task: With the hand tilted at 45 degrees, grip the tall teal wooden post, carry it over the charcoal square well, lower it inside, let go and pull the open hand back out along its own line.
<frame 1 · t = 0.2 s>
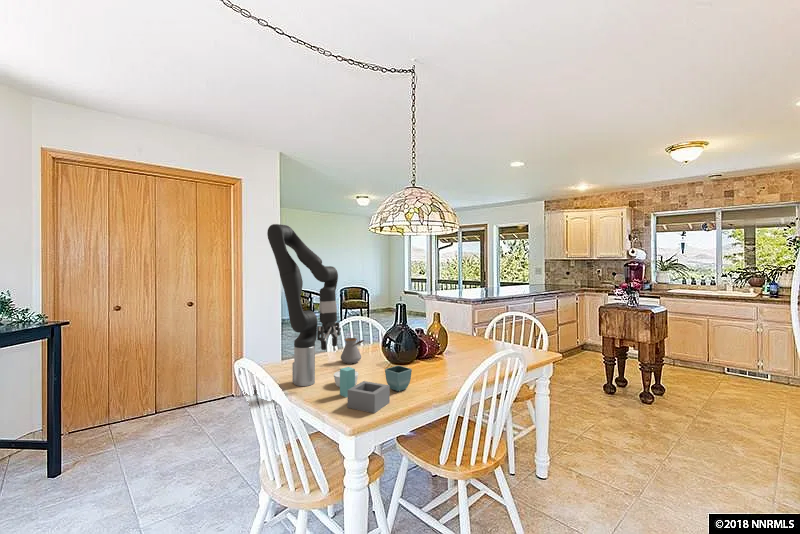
hand: (329, 347, 173), 18 cm above the table, tool pointing down, fingers open, 8 cm apart
coffee pot: (354, 364, 213), on the table
ramekin: (346, 385, 178), on the table
well: (368, 405, 153), on the table
flower pot: (398, 389, 172), on the table
teal post: (347, 394, 165), on the table
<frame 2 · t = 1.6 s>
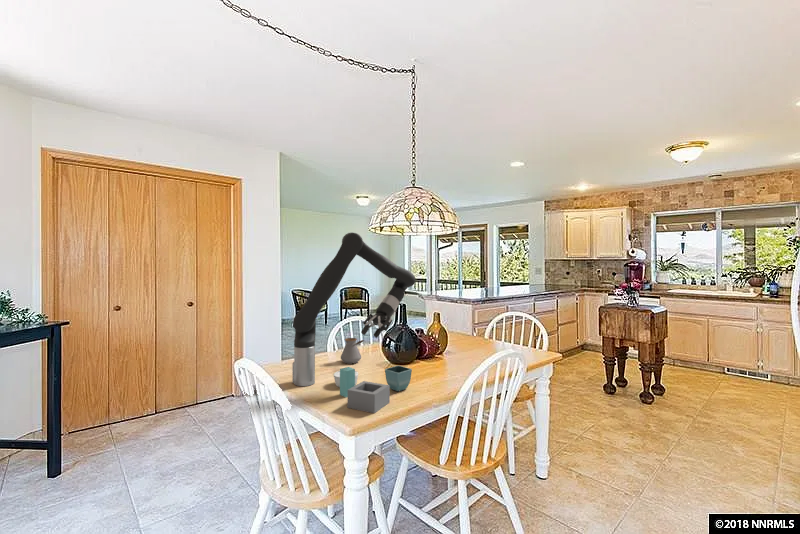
hand: (368, 335, 172), 24 cm above the table, tool tilted 45°, fingers open, 8 cm apart
nothing on the table moved.
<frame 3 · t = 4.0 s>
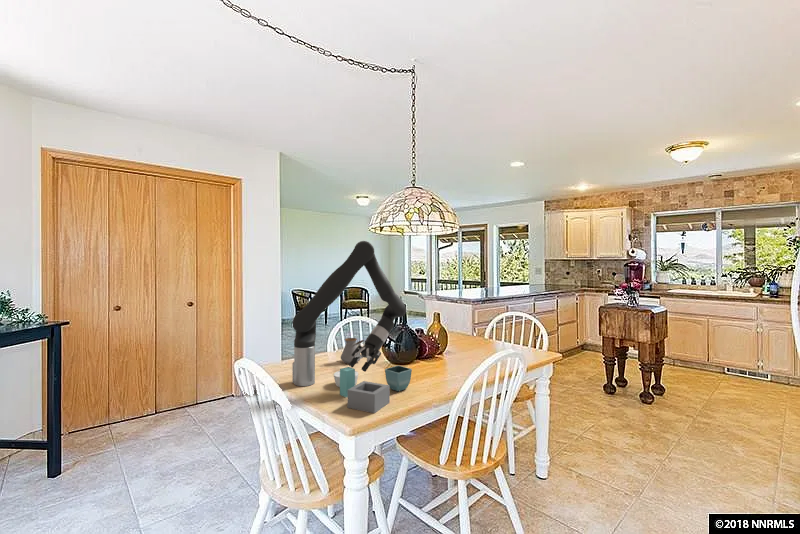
hand: (356, 368, 168), 10 cm above the table, tool tilted 45°, fingers open, 8 cm apart
nothing on the table moved.
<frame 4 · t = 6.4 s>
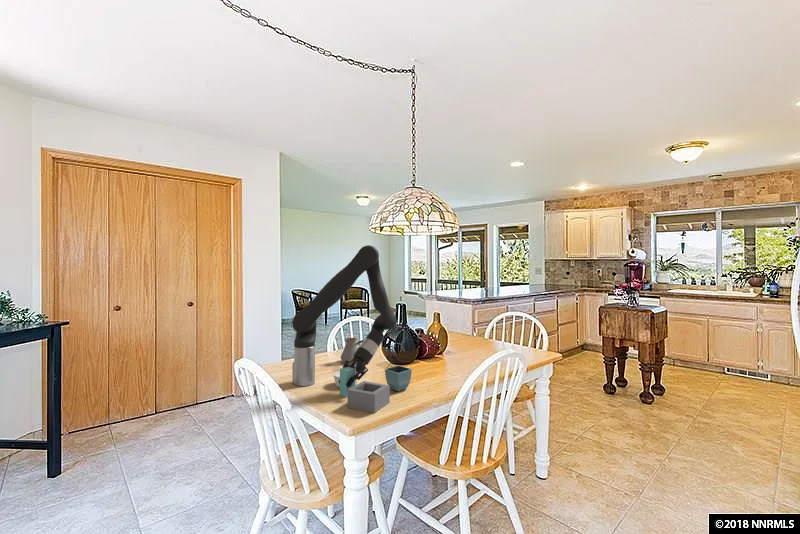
hand: (343, 384, 163), 5 cm above the table, tool tilted 45°, fingers closed on teal post, 4 cm apart
teal post: (347, 394, 165), on the table, touching gripper
everything else where it was.
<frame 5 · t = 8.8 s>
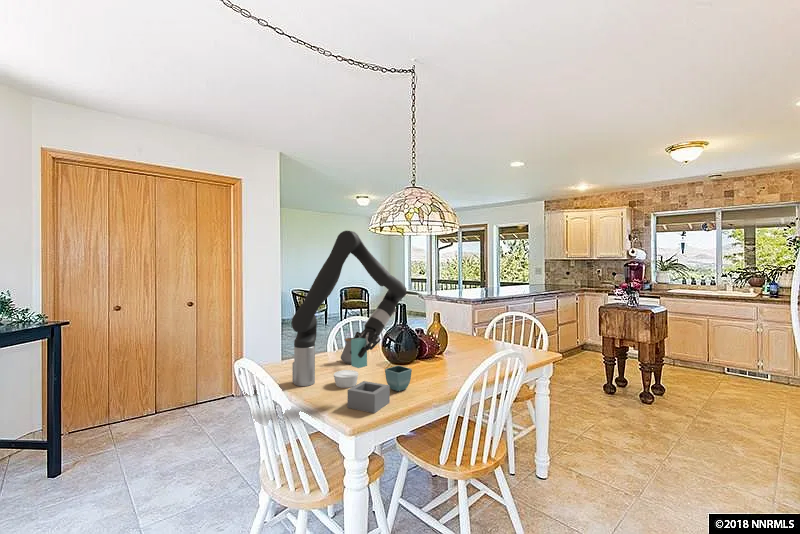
hand: (355, 355, 158), 18 cm above the table, tool tilted 45°, fingers closed on teal post, 4 cm apart
teal post: (359, 366, 159), point 14 cm above the table, touching gripper
everything else where it was.
when the fingers open (8 cm above the table, at t = 11.6 s): teal post drops 2 cm, resting on well.
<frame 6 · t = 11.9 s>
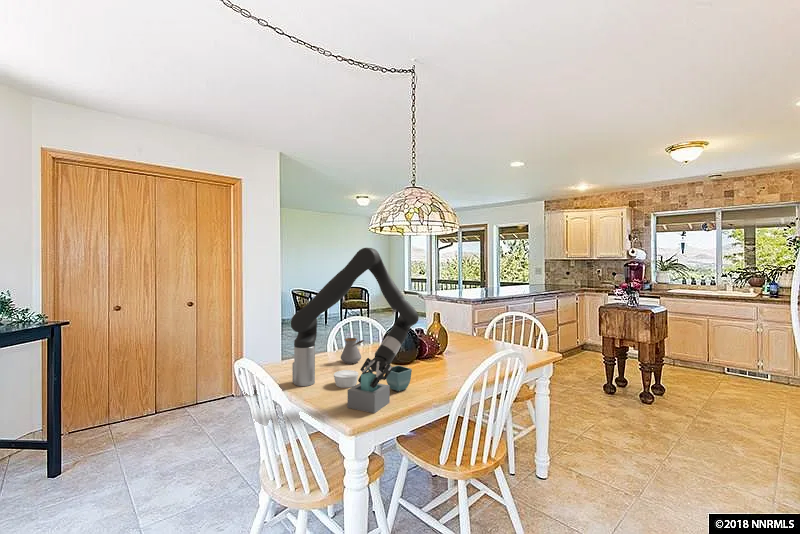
hand: (365, 384, 152), 8 cm above the table, tool tilted 45°, fingers open, 7 cm apart
teal post: (369, 402, 153), point 1 cm above the table, touching well
everything else where it was.
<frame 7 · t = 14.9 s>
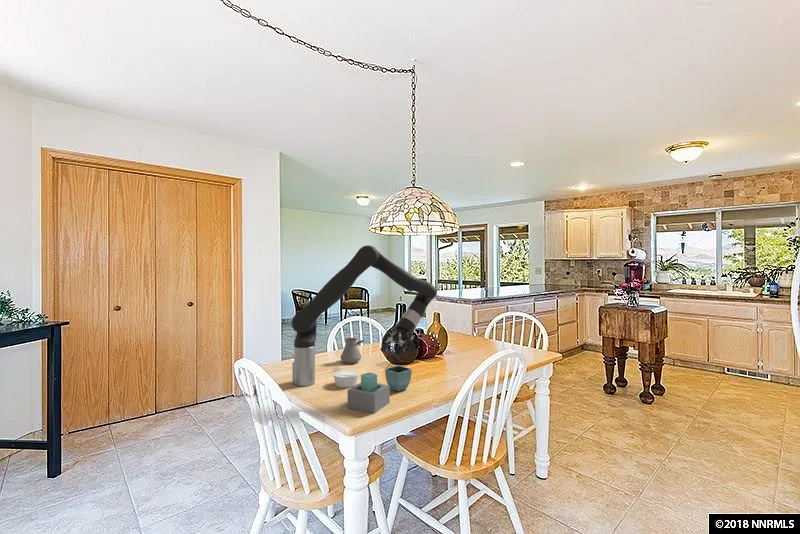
hand: (388, 353, 160), 19 cm above the table, tool tilted 45°, fingers open, 8 cm apart
nothing on the table moved.
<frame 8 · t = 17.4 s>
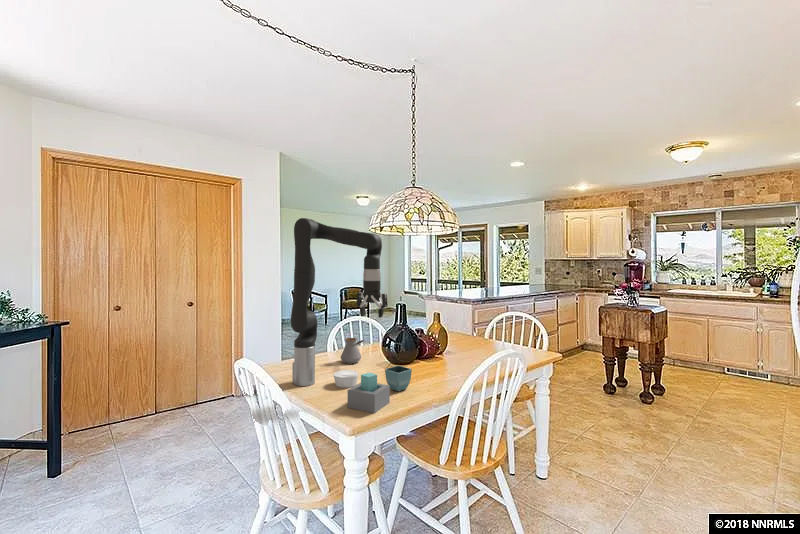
hand: (371, 316, 170), 32 cm above the table, tool pointing down, fingers open, 8 cm apart
nothing on the table moved.
at the end: teal post 0.1 cm off-centre on the well, point 1.0 cm above the well's base; teal post tilted 0°; the gripper is holding nothing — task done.
